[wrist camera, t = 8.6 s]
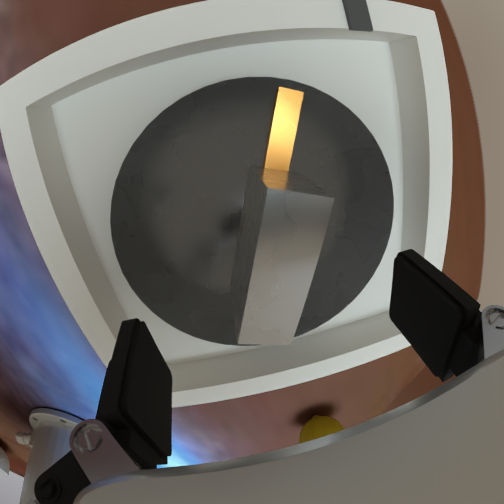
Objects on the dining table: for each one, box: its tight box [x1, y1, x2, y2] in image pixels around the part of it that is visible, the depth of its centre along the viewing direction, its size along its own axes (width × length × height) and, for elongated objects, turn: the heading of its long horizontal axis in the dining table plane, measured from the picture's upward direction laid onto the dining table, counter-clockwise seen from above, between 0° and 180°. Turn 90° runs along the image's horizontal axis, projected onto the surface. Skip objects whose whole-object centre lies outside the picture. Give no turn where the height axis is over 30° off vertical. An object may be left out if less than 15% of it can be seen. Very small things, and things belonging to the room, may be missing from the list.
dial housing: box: [0, 0, 452, 408], centre depth 17 cm, size 24×24×5 cm
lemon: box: [299, 415, 345, 444], centre depth 28 cm, size 6×6×8 cm
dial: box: [110, 77, 394, 346], centre depth 14 cm, size 16×16×6 cm
